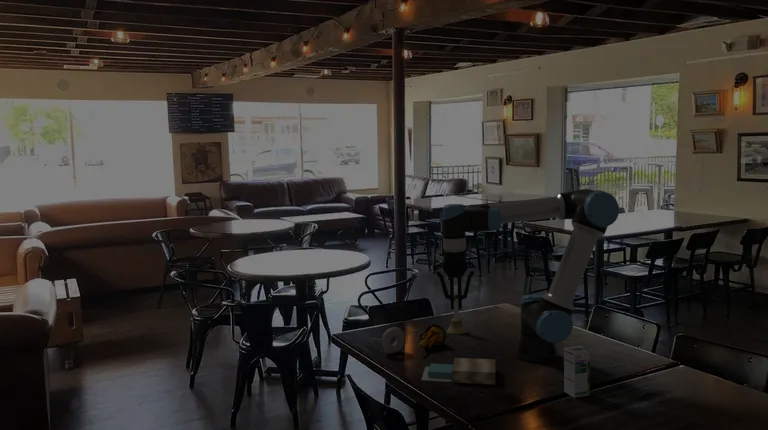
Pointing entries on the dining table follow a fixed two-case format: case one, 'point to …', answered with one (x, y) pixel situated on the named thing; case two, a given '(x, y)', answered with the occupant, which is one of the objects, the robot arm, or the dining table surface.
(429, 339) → the fried shrimp in bowl
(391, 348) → the donut
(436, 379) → the mat
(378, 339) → the dining table surface
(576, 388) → the syrup box
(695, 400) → the dining table surface
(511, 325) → the dining table surface
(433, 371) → the teal block
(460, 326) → the hand bell
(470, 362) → the serving board
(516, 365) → the dining table surface
